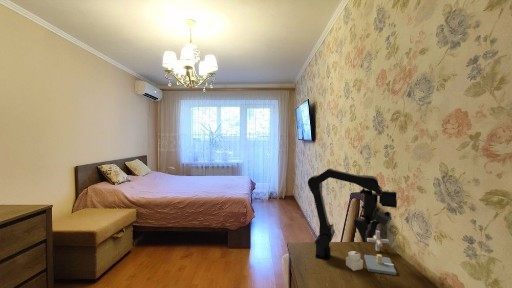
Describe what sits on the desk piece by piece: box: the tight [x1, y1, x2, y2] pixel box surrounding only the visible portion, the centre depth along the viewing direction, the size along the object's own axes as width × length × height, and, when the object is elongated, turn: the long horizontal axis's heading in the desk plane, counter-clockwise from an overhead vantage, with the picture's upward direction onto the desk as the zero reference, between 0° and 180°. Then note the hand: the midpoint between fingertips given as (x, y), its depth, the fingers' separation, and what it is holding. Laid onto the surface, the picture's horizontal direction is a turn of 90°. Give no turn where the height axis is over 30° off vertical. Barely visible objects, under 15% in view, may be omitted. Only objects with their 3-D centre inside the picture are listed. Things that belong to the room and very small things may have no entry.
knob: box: [345, 250, 364, 272], centre depth 111 cm, size 5×5×6 cm
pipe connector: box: [366, 230, 390, 252], centre depth 127 cm, size 10×10×10 cm
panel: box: [363, 253, 398, 276], centre depth 112 cm, size 12×13×5 cm
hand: (368, 238), depth 112 cm, fingers open, 9 cm apart
